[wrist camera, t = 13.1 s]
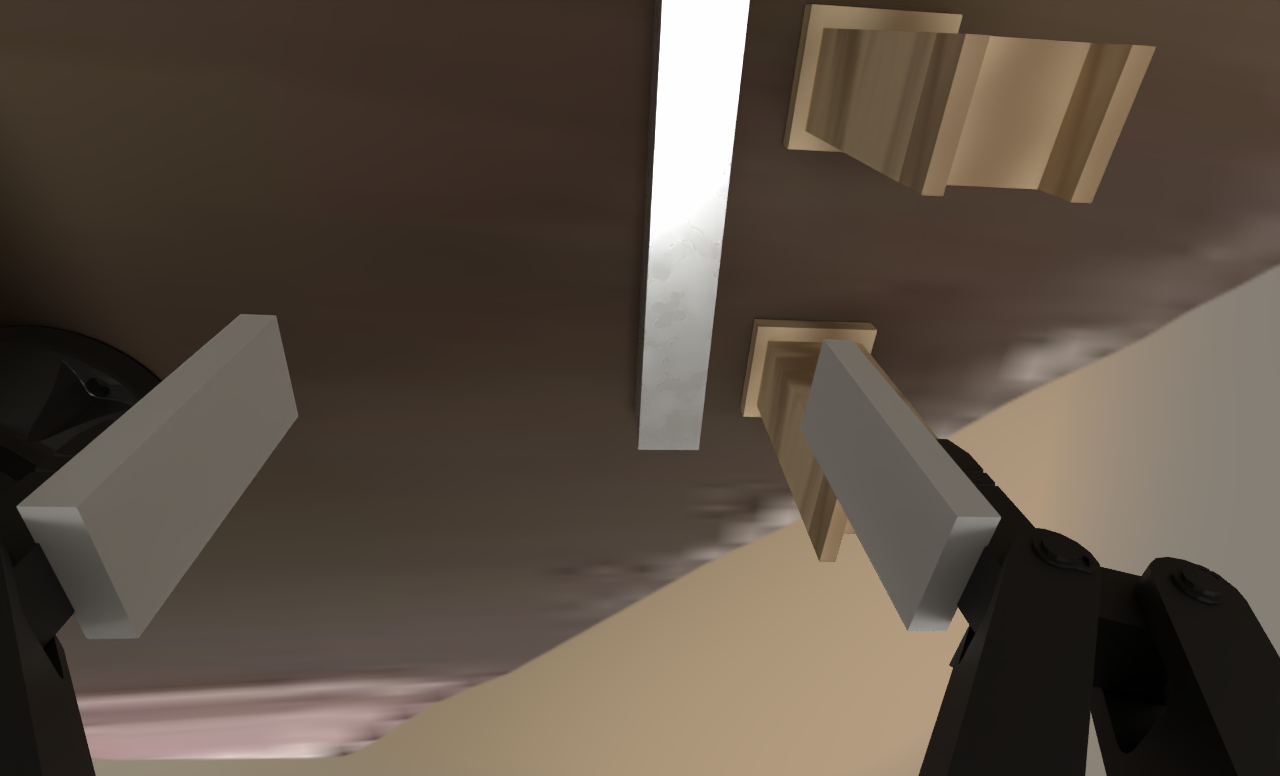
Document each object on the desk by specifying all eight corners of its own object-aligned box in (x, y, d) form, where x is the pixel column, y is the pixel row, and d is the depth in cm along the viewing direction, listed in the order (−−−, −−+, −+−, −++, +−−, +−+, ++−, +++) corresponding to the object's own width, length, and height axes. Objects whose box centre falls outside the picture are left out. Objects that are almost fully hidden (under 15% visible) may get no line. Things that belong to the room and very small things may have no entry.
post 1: (740, 407, 46) (800, 575, 32) (754, 318, 42) (829, 465, 28) (847, 409, 46) (951, 575, 32) (870, 322, 43) (998, 467, 29)
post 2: (782, 145, 37) (892, 222, 23) (805, 4, 33) (951, -6, 19) (915, 152, 37) (1100, 231, 23) (951, 14, 34) (1194, 12, 20)
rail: (634, 408, 46) (638, 449, 41) (655, -17, 33) (663, -23, 28) (689, 409, 46) (698, 449, 42) (731, -13, 33) (751, -18, 28)
